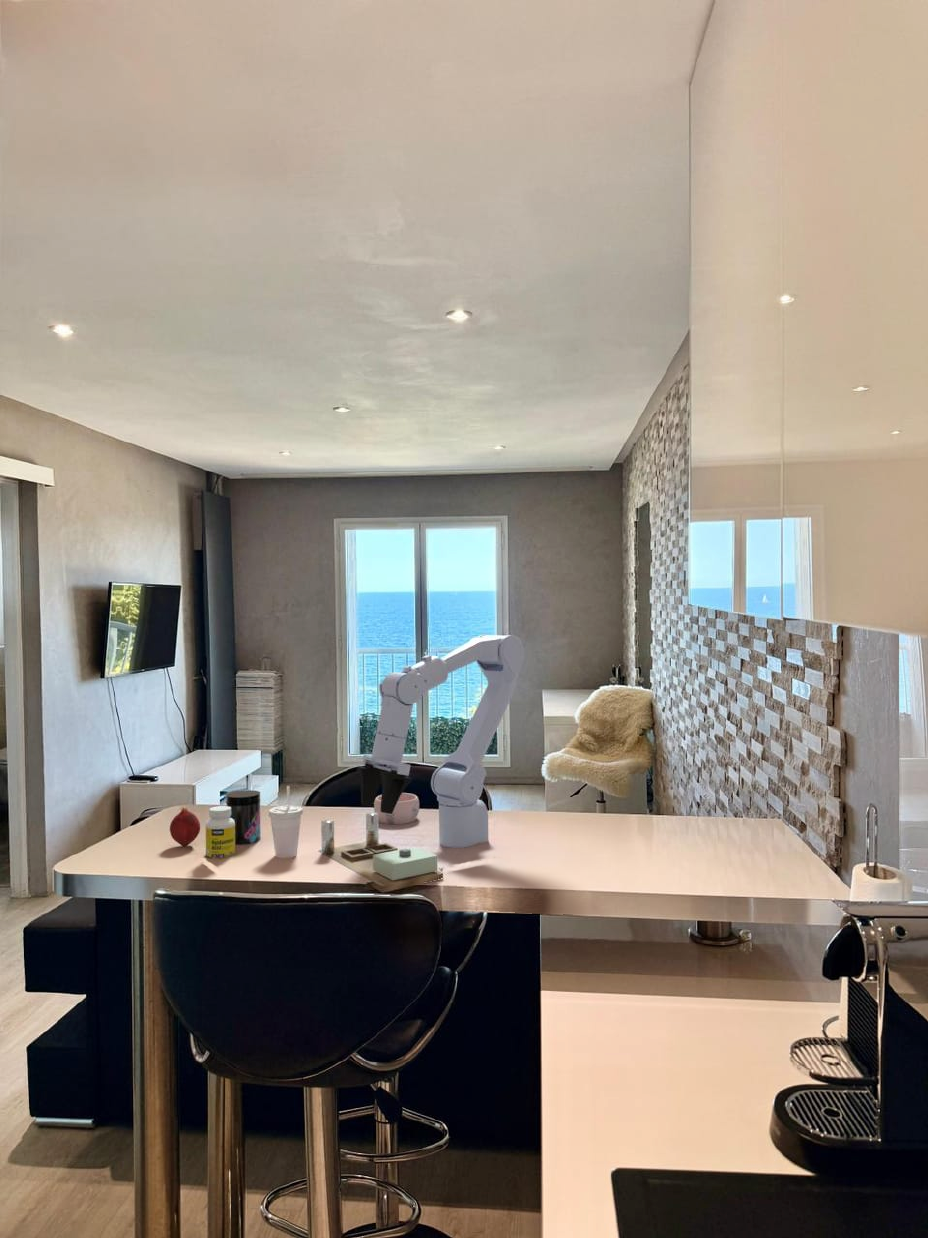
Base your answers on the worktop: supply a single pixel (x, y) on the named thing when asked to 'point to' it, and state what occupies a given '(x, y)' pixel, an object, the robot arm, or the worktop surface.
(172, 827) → the onion
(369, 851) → the board
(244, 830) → the supplement container
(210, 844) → the supplement bottle
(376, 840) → the pin
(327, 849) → the pin
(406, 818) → the pink bowl
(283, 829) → the smoothie
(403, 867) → the cover
